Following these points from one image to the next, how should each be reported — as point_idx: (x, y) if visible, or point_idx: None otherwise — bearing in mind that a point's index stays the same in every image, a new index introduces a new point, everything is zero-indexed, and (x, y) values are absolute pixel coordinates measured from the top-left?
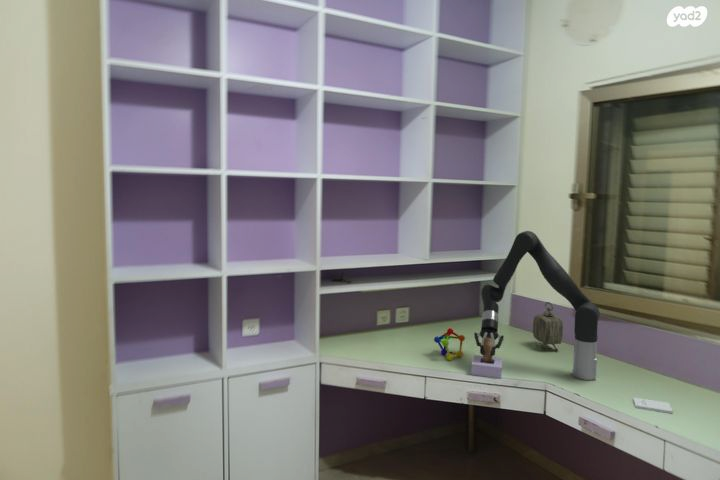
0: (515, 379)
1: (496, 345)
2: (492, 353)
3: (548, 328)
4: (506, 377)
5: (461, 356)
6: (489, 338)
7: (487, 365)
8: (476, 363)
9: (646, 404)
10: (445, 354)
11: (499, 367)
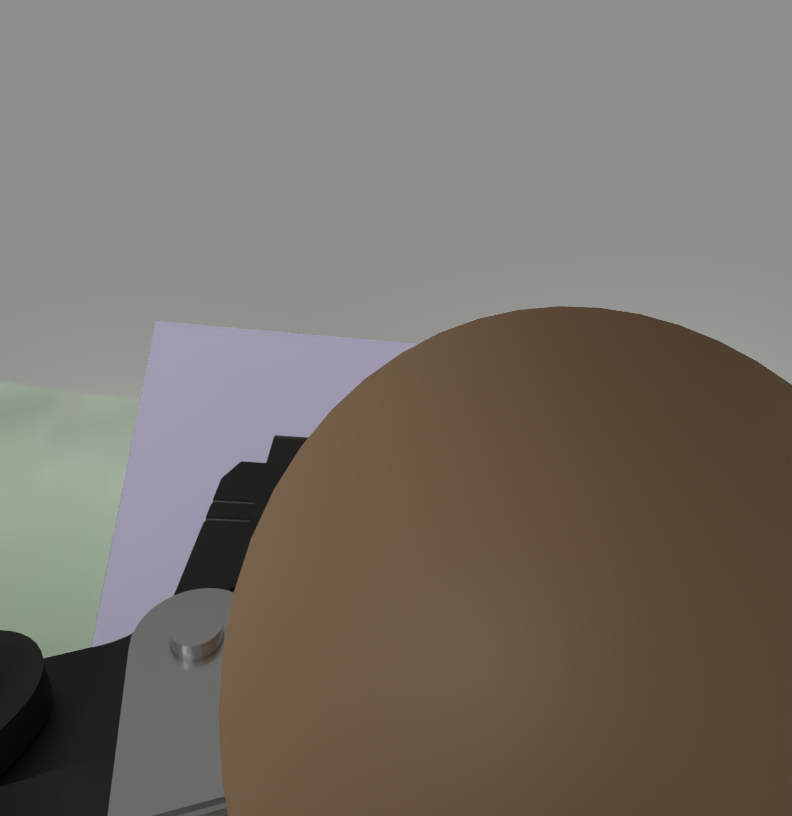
0: (5, 404)
1: (77, 708)
2: (296, 441)
3: None
4: (119, 442)
5: None
6: (535, 803)
7: (387, 360)
8: None
9: None
10: None
11: (191, 325)
